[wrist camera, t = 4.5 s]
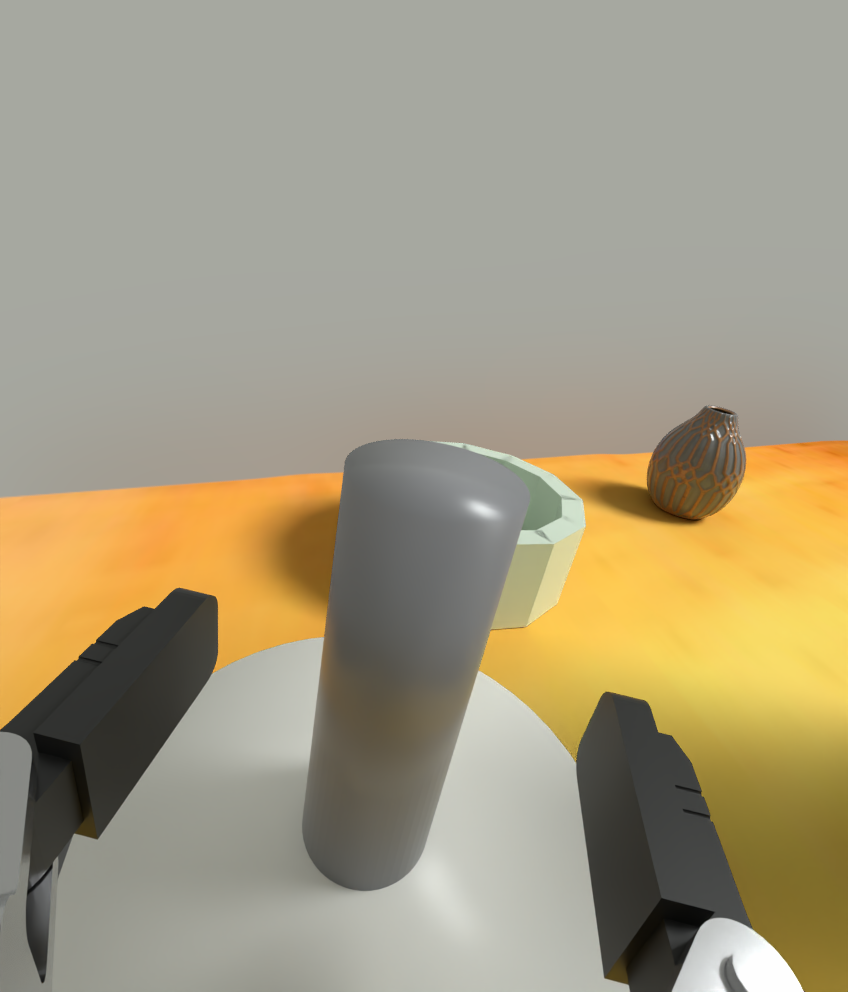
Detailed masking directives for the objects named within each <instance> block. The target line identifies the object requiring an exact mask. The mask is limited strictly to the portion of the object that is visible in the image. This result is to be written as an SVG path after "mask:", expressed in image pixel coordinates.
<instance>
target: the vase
mask: <svg viewBox="0 0 848 992" xmlns="http://www.w3.org/2000/svg"><path fill="white" fill-rule="evenodd" d="M745 468H746V453H745V449H744V445H743V442H742V439H741V436H740V433H739V430H738V415H737V414H736V413H735V412H733V411H730V410H727V409H724V408H721V407H717V406H709V405H708V406H705V407H704V408H703V409H702V410H701V411H700V412H699V413H698V414H697V415H695V416H694V417H692V418H691V419H689V420H687V421H685V422H684V423H682V424H680V425H679V426H677V427H676V428H674V429H673V430H671V431H670V432H669V433H668V434H667V435H666V436H665V437H664V438H663V439H662V440H661V442H660V443H659V444H658V445H657V447H656V449H655V450H654V452H653V454H652V457H651V459H650V462H649V466H648V470H647V487H648V490H649V493H650V495H651V498H652V499H653V501H654V503H655V504H656V505H657V506H658V507H659V508H661V509H662V510H664V511H666V512H668V513H670V514H673V515H675V516H678V517H681V518H686V519H692V520H697V519H702V518H705V517H708V516H711V515H713V514H715V513H717V512H719V511H720V510H721V509H722V508H724V507H725V506H726V505H727V504H728V503H729V502H730V501H731V499H732V498H733V497H734V495H735V494H736V492H737V491H738V489H739V487H740V485H741V483H742V480H743V477H744V473H745Z"/></svg>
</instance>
